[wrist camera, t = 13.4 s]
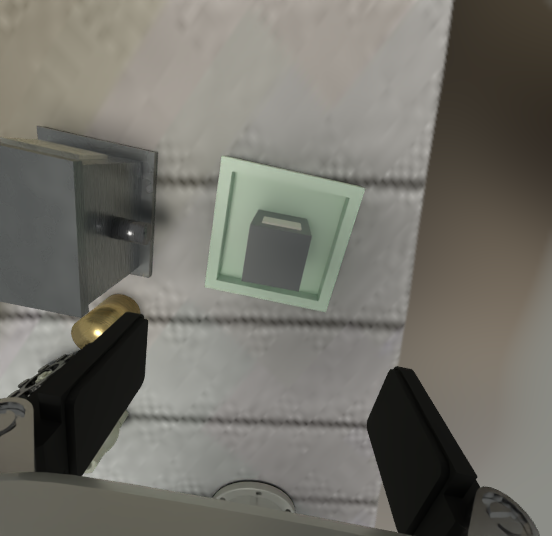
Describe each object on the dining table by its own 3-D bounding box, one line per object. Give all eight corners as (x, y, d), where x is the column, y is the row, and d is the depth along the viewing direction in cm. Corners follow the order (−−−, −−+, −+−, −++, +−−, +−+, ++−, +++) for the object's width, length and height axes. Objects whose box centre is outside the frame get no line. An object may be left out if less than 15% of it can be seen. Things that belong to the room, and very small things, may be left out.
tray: (323, 302, 30) (325, 312, 28) (209, 278, 29) (204, 287, 27) (359, 186, 25) (365, 188, 23) (226, 155, 25) (221, 155, 23)
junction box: (164, 278, 29) (111, 331, 21) (53, 255, 29) (-51, 299, 20) (173, 156, 25) (109, 156, 16) (42, 126, 25) (-98, 110, 16)
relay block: (296, 264, 28) (298, 291, 22) (251, 255, 27) (241, 281, 22) (307, 217, 26) (312, 234, 20) (258, 207, 26) (250, 222, 20)
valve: (144, 415, 37) (85, 345, 33) (116, 467, 31) (39, 388, 27) (104, 429, 38) (43, 363, 34) (69, 482, 32) (-10, 408, 28)
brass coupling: (139, 329, 32) (114, 358, 27) (104, 322, 32) (72, 350, 27) (140, 298, 30) (114, 324, 26) (103, 290, 30) (69, 315, 26)
